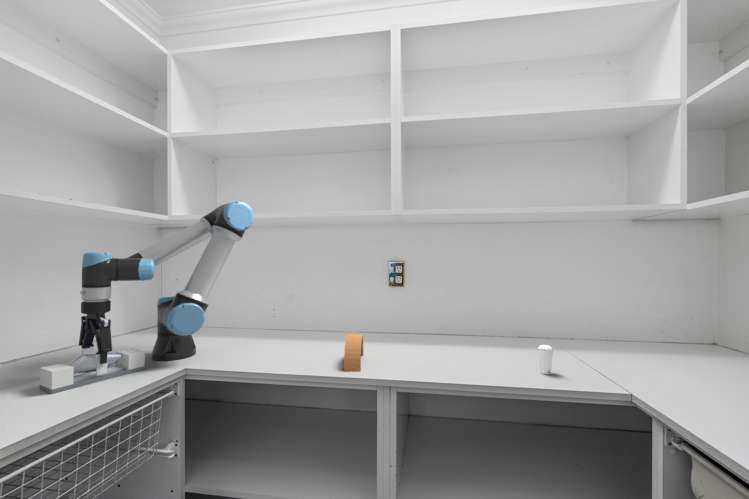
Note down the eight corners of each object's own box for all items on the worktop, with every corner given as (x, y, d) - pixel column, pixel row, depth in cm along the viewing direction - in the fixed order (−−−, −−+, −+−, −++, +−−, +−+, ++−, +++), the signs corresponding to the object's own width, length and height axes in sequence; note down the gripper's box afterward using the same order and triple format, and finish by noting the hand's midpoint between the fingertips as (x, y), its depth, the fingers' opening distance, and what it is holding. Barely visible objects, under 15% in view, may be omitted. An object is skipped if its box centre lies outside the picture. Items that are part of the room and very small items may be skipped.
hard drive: (83, 353, 109) (119, 353, 121) (62, 370, 109) (101, 368, 121) (84, 358, 109) (121, 357, 120) (64, 374, 109) (103, 372, 121)
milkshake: (549, 377, 114) (549, 345, 114) (535, 372, 119) (534, 342, 119) (558, 374, 116) (558, 343, 117) (544, 370, 121) (543, 340, 121)
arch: (343, 371, 121) (343, 341, 121) (349, 355, 141) (349, 329, 141) (360, 371, 120) (360, 341, 121) (364, 355, 140) (363, 329, 141)
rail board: (131, 365, 127) (131, 348, 127) (144, 369, 123) (144, 351, 123) (39, 388, 105) (40, 367, 105) (51, 393, 101) (52, 371, 102)
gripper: (66, 298, 117) (64, 368, 117) (99, 304, 106) (97, 381, 106) (93, 296, 123) (92, 362, 123) (126, 301, 113) (124, 373, 113)
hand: (94, 370), depth 115 cm, fingers open, 9 cm apart
